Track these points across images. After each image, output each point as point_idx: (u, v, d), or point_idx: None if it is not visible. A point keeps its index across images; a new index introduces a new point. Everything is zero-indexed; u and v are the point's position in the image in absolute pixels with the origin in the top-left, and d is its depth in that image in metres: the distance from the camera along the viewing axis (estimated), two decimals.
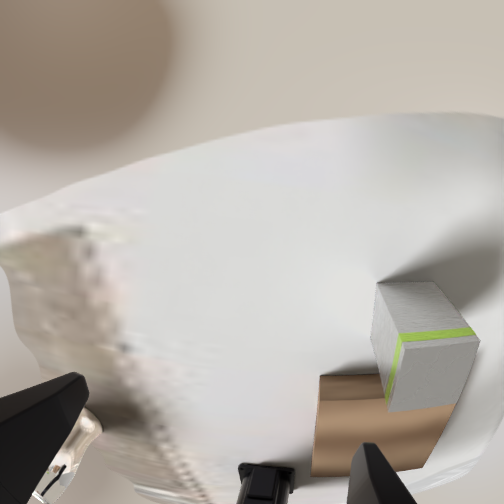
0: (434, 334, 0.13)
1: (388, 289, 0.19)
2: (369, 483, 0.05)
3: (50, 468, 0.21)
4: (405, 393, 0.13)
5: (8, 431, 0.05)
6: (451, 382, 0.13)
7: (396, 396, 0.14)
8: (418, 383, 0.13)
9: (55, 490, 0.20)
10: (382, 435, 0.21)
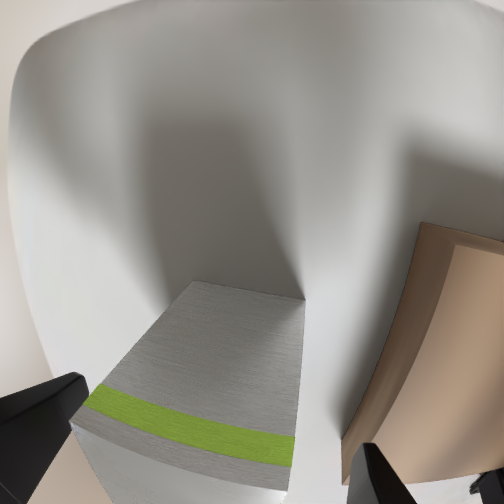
0: None
1: None
2: (369, 483, 0.05)
3: None
4: None
5: (8, 431, 0.05)
6: (188, 491, 0.05)
7: None
8: None
9: None
10: (488, 406, 0.08)
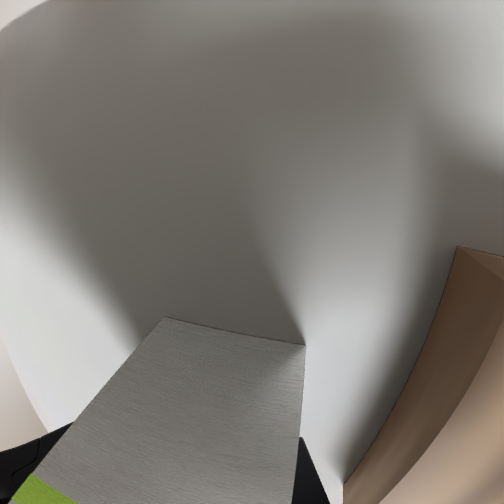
0: None
1: None
2: None
3: None
4: None
5: None
6: None
7: None
8: None
9: None
10: None
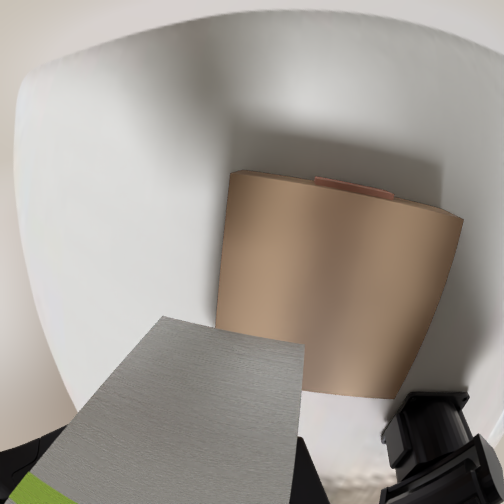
0: None
1: None
2: None
3: None
4: None
5: None
6: None
7: None
8: None
9: None
10: (310, 308, 0.16)
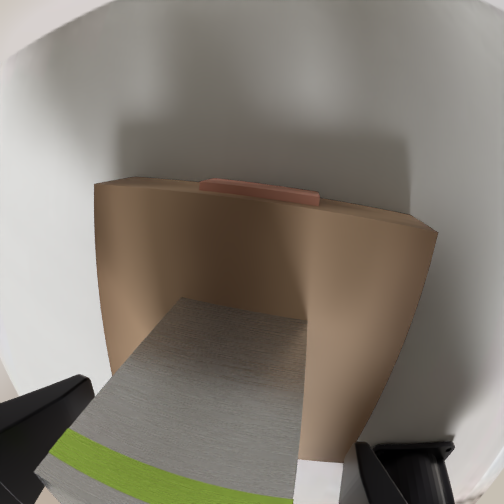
0: None
1: None
2: (360, 483, 0.05)
3: None
4: None
5: (13, 435, 0.05)
6: None
7: None
8: None
9: None
10: None
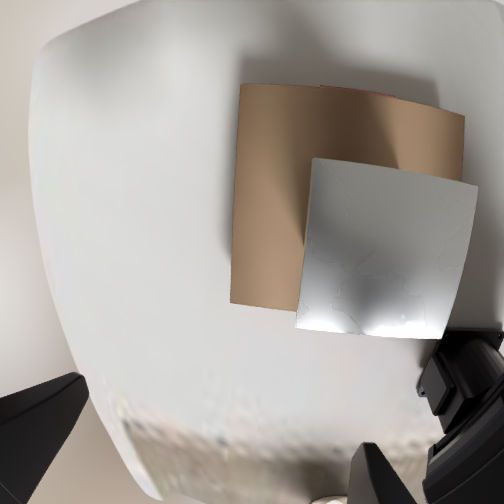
0: None
1: None
2: (369, 483, 0.05)
3: None
4: (405, 315, 0.08)
5: (8, 431, 0.05)
6: (414, 214, 0.07)
7: (407, 330, 0.08)
8: (389, 294, 0.07)
9: None
10: None
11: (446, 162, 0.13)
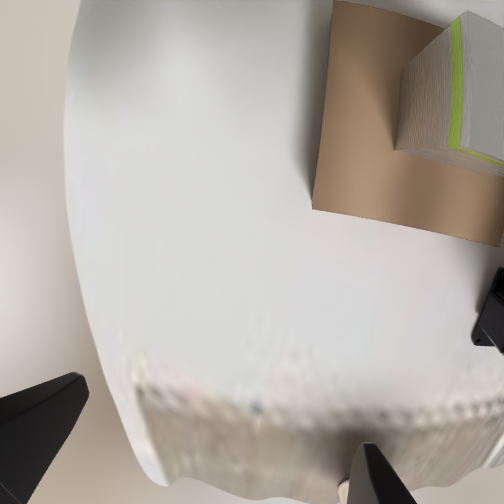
0: (456, 86, 0.07)
1: (401, 136, 0.12)
2: (369, 483, 0.05)
3: None
4: None
5: (8, 431, 0.05)
6: None
7: None
8: None
9: None
10: None
11: None
